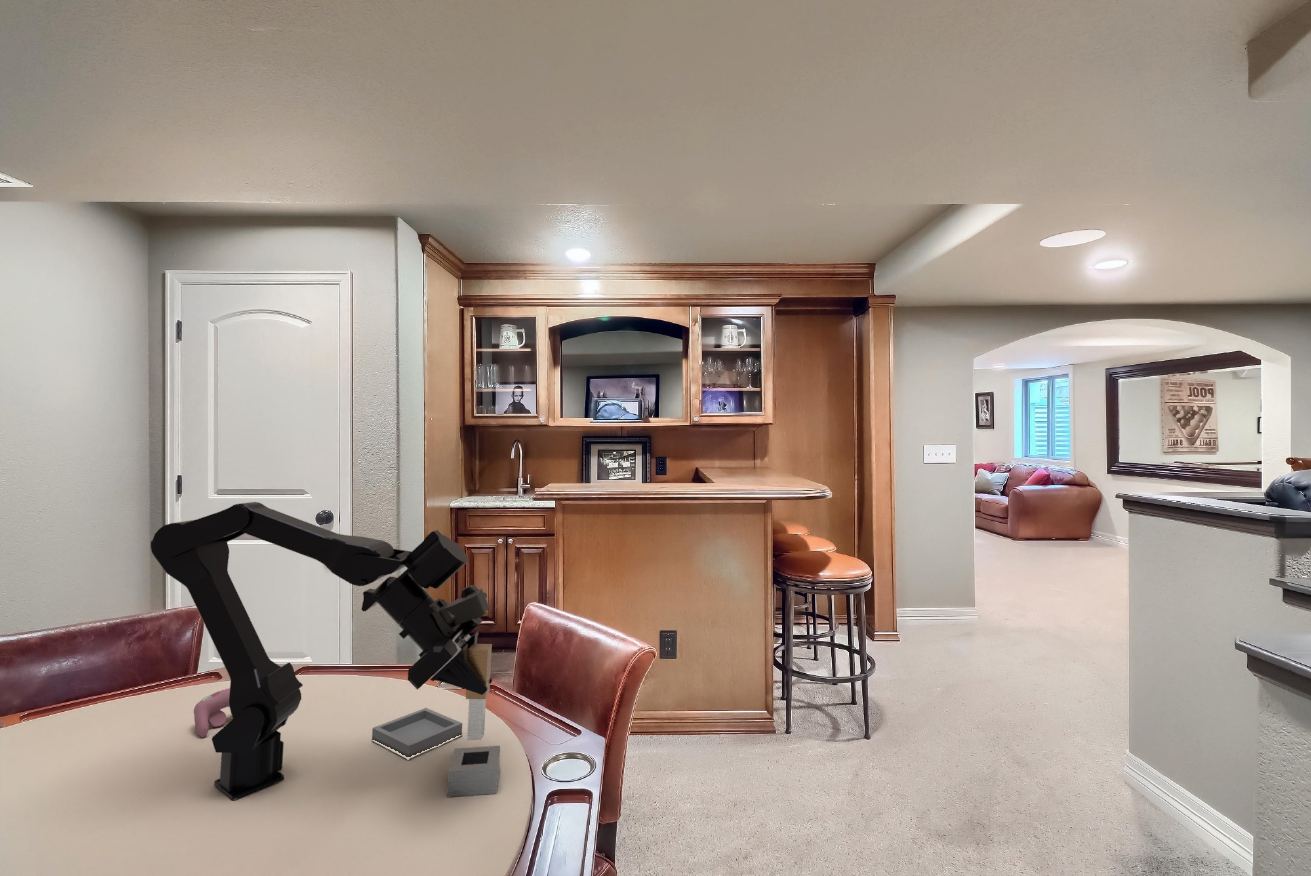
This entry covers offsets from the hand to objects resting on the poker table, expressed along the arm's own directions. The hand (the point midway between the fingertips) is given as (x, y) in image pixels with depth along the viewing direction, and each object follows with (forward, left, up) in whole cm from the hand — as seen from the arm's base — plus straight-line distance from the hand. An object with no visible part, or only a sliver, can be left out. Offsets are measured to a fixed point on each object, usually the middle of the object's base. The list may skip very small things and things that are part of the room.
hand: (487, 687), depth 86 cm
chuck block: (-1, +1, -13) cm, 14 cm away
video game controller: (-14, +48, -14) cm, 52 cm away
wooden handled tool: (-1, +1, -7) cm, 7 cm away
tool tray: (+2, +19, -13) cm, 23 cm away
